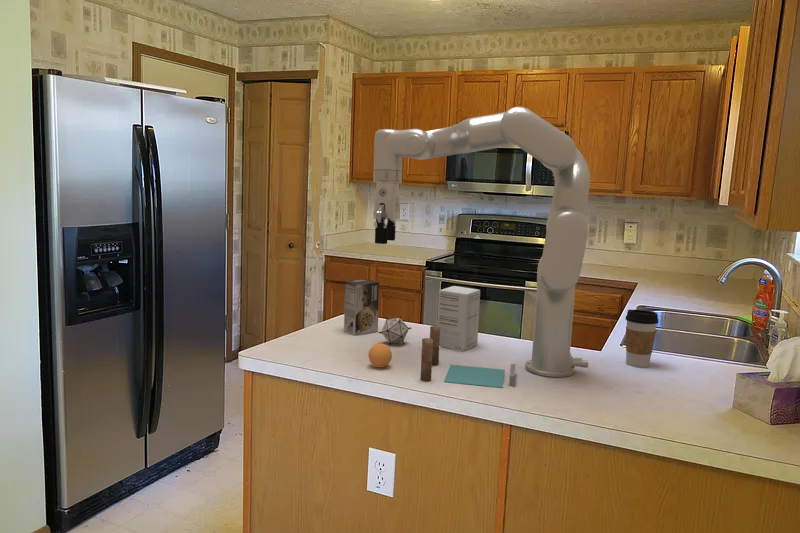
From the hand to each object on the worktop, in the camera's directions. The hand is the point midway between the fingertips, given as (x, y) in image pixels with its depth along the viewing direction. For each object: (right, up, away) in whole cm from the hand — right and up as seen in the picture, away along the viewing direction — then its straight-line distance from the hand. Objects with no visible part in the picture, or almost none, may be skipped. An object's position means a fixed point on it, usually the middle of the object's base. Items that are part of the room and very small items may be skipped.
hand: (385, 241), depth 164 cm
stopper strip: (+32, -35, -13) cm, 49 cm away
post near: (+10, -34, -15) cm, 39 cm away
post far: (+13, -32, -3) cm, 35 cm away
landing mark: (+23, -34, -11) cm, 42 cm away
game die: (+2, -30, +16) cm, 34 cm away
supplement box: (+21, -30, +16) cm, 40 cm away
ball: (-1, -29, -7) cm, 30 cm away
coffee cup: (+69, -34, +4) cm, 77 cm away
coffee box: (-8, -27, +28) cm, 40 cm away
